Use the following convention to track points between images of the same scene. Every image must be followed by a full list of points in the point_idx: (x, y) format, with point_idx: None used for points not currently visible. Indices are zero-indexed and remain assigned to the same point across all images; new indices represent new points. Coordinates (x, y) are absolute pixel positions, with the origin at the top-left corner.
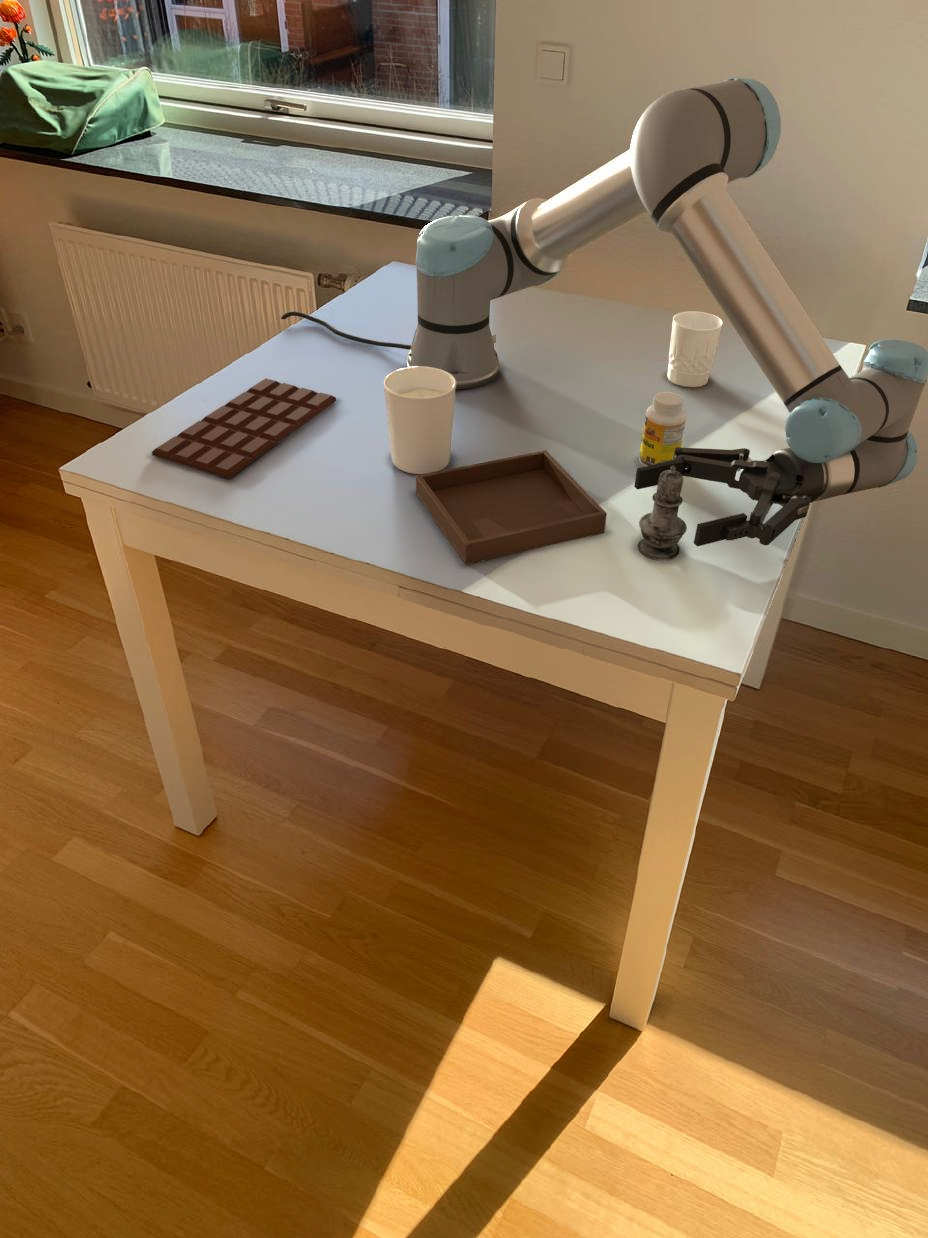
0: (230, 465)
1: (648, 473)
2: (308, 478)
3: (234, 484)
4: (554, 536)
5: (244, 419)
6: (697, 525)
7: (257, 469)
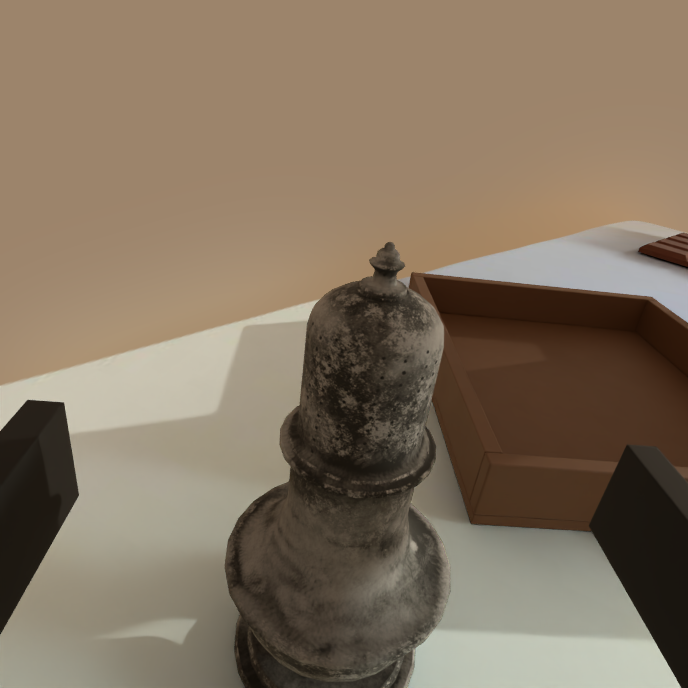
0: (659, 246)
1: (648, 506)
2: (659, 284)
3: (627, 253)
4: (440, 391)
5: None
6: (62, 409)
7: (671, 268)
